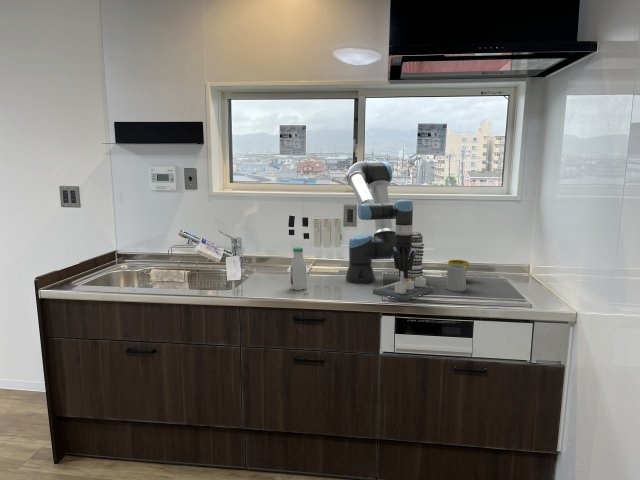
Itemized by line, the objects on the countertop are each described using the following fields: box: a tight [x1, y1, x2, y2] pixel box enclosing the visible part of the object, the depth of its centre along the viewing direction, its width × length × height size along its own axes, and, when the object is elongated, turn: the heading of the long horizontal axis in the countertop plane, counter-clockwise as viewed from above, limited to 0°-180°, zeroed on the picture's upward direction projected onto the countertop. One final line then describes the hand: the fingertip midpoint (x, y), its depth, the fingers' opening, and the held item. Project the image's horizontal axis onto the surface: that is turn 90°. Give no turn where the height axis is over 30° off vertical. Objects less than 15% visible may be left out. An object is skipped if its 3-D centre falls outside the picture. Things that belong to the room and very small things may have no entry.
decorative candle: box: [406, 231, 425, 283], centre depth 224 cm, size 9×9×25 cm
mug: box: [446, 265, 467, 292], centre depth 211 cm, size 12×8×11 cm
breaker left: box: [395, 282, 406, 294], centre depth 197 cm, size 4×3×4 cm
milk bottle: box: [290, 246, 308, 291], centre depth 214 cm, size 8×8×20 cm
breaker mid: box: [403, 279, 414, 290], centre depth 203 cm, size 4×3×4 cm
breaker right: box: [415, 275, 427, 287], centre depth 208 cm, size 4×3×4 cm
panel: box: [372, 280, 434, 302], centre depth 206 cm, size 18×22×2 cm
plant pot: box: [447, 259, 470, 274], centre depth 227 cm, size 10×10×10 cm
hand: (403, 284), depth 205 cm, fingers closed
